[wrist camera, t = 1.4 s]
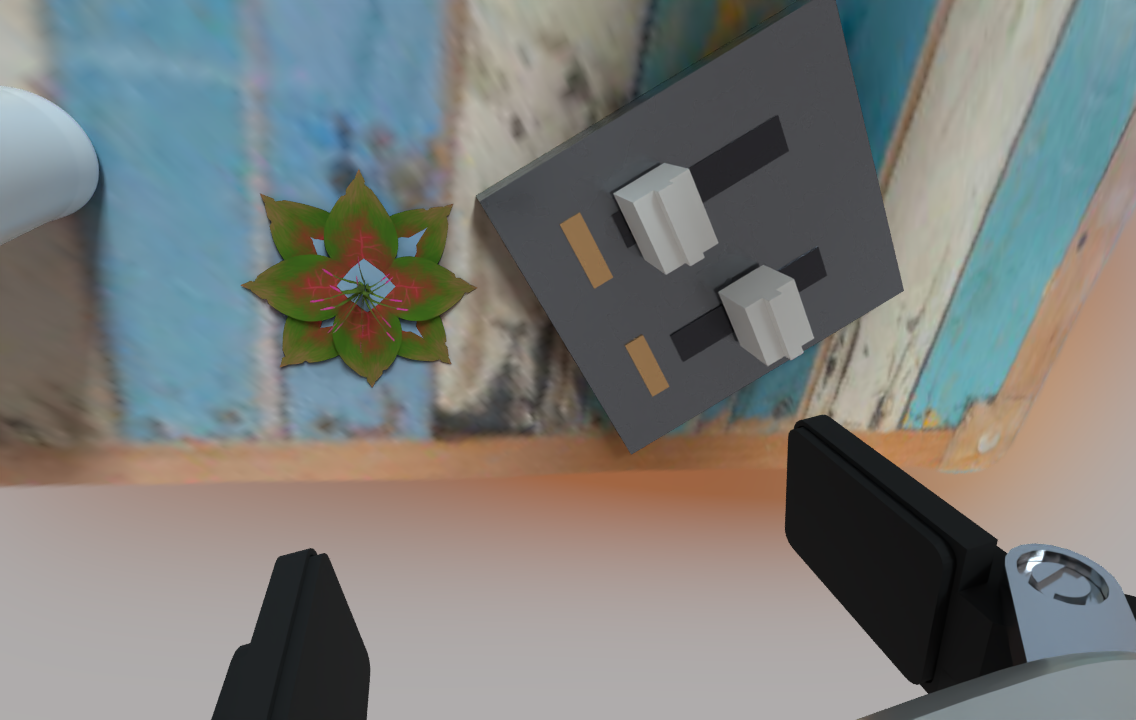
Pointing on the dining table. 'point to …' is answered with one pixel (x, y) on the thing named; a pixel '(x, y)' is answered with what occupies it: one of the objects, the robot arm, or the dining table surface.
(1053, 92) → the dining table surface
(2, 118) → the drinking glass
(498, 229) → the breaker panel
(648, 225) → the breaker
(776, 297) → the block
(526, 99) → the dining table surface
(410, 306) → the lily flower
